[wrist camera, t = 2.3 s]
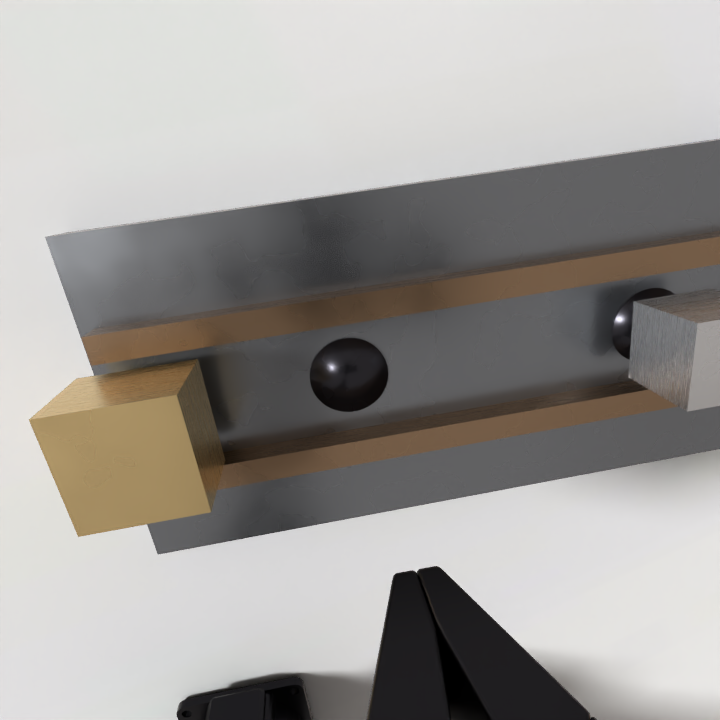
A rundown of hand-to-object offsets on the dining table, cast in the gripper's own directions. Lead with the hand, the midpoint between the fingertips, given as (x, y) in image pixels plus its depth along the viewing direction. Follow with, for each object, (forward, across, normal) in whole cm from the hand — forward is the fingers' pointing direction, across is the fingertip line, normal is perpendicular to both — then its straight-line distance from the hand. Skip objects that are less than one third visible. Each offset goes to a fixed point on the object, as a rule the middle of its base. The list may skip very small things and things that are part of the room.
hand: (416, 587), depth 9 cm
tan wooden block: (+10, +7, 0) cm, 12 cm away
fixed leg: (+10, -12, 0) cm, 16 cm away
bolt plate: (+12, -3, 0) cm, 12 cm away
